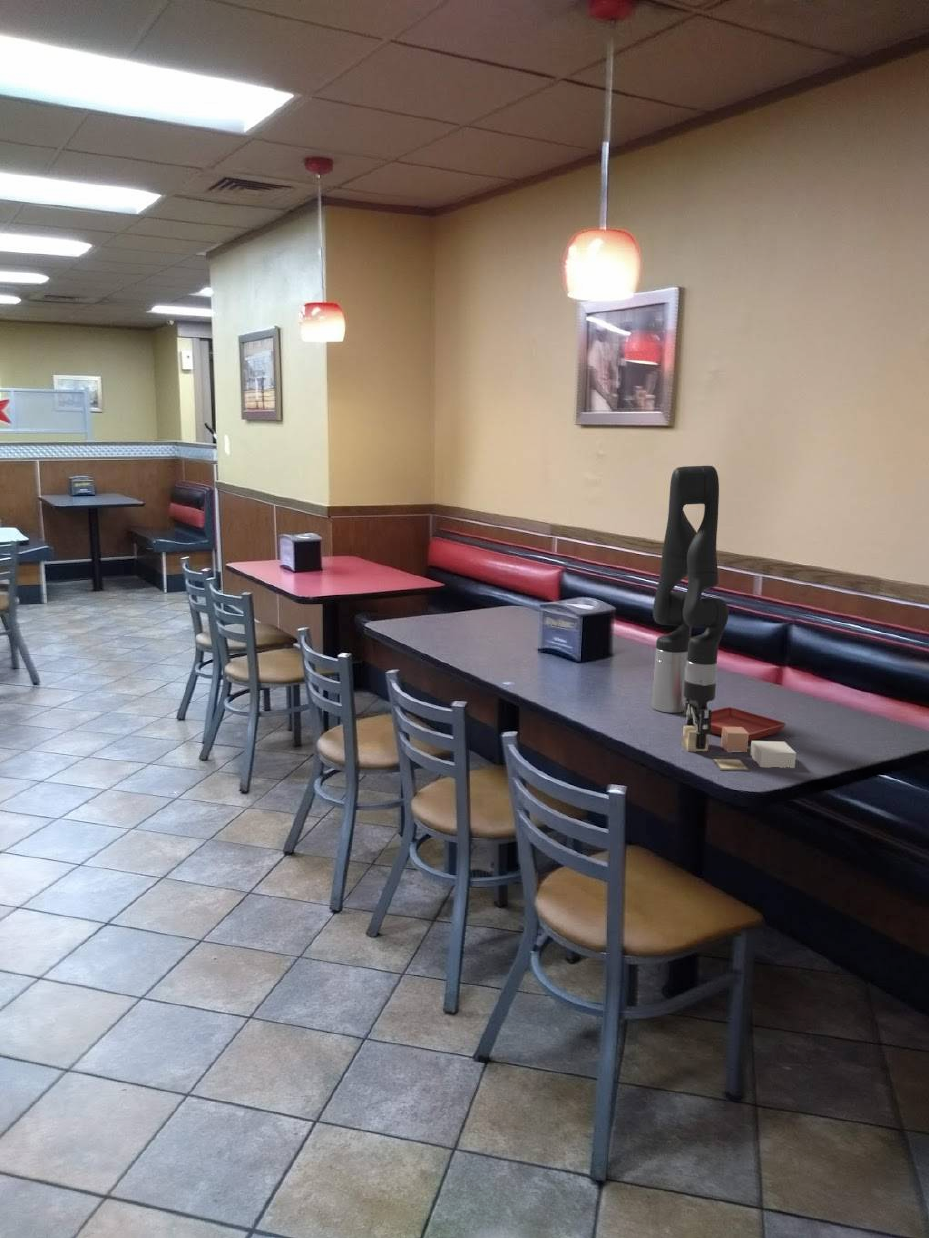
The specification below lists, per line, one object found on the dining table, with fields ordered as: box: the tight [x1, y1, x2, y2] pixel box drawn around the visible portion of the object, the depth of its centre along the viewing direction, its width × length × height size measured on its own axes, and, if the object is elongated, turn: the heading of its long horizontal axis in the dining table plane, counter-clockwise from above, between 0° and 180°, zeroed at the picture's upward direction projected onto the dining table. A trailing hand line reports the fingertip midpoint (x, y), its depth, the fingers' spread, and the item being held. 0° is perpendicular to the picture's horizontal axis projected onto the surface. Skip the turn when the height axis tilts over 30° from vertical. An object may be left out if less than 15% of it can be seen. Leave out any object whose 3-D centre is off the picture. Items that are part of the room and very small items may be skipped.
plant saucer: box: [711, 706, 787, 742], centre depth 242 cm, size 18×18×3 cm
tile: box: [711, 758, 750, 772], centre depth 216 cm, size 7×7×1 cm
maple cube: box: [681, 725, 710, 752], centre depth 227 cm, size 5×5×5 cm
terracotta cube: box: [720, 727, 749, 753], centre depth 227 cm, size 5×5×5 cm
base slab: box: [749, 740, 797, 769], centre depth 219 cm, size 8×8×4 cm
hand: (695, 742), depth 228 cm, fingers open, 8 cm apart
